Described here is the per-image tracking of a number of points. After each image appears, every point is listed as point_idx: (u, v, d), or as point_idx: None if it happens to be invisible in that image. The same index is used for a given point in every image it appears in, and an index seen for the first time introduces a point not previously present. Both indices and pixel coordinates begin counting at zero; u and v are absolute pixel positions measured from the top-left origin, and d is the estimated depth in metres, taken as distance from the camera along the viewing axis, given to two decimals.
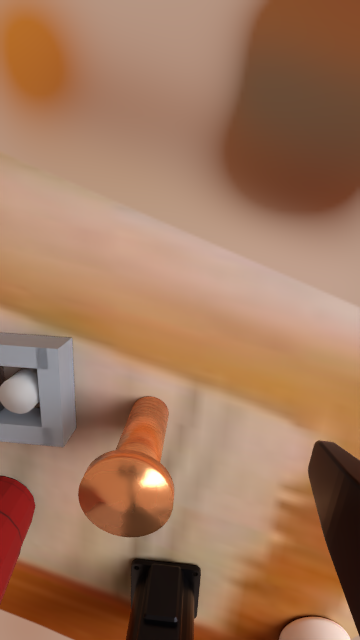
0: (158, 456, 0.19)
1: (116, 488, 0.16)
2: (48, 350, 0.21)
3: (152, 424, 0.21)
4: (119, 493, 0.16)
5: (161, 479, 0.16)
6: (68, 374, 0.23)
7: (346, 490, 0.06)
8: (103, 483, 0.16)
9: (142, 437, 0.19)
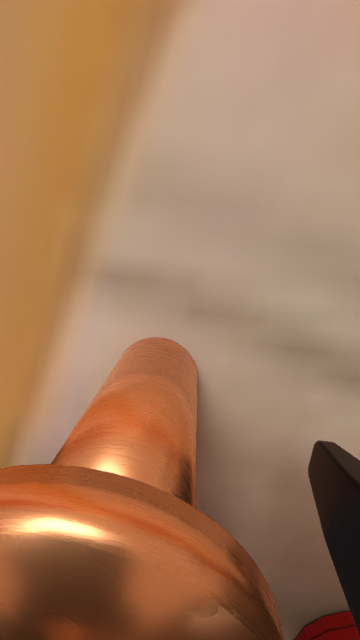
0: (96, 432, 0.06)
1: None
2: None
3: (92, 401, 0.08)
4: None
5: None
6: None
7: (346, 490, 0.06)
8: None
9: None
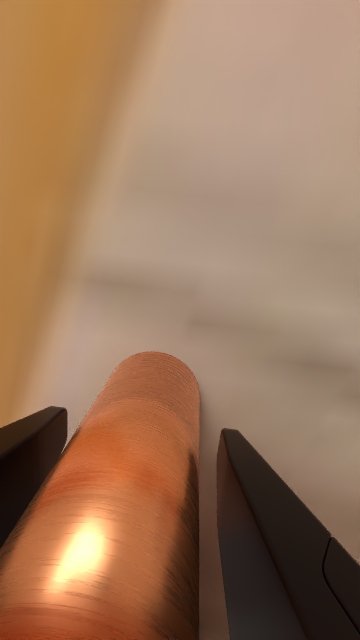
0: (69, 493, 0.04)
1: None
2: None
3: (73, 435, 0.07)
4: None
5: None
6: None
7: (228, 474, 0.06)
8: None
9: None
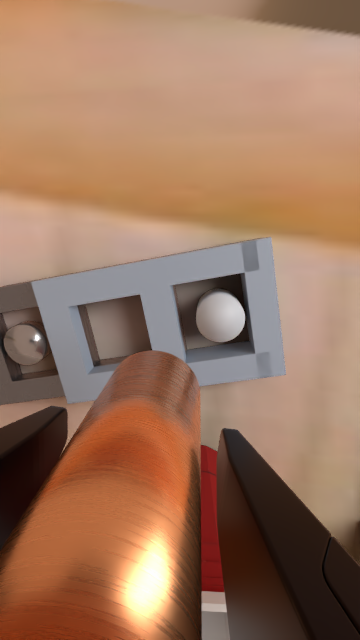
0: (71, 491, 0.04)
1: None
2: (259, 241, 0.16)
3: None
4: None
5: None
6: None
7: (228, 474, 0.06)
8: None
9: None
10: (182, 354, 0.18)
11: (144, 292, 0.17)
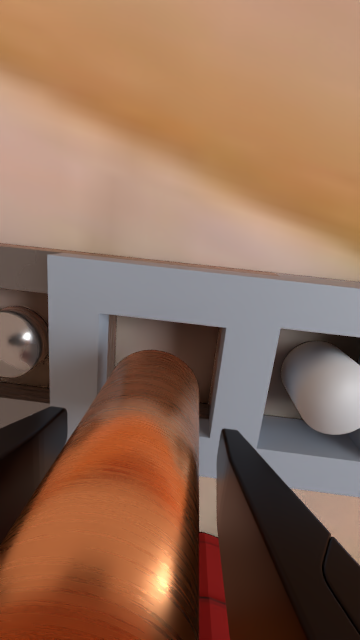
0: (68, 491, 0.04)
1: None
2: None
3: None
4: None
5: None
6: None
7: (228, 474, 0.06)
8: None
9: None
10: (257, 434, 0.11)
11: (235, 327, 0.10)
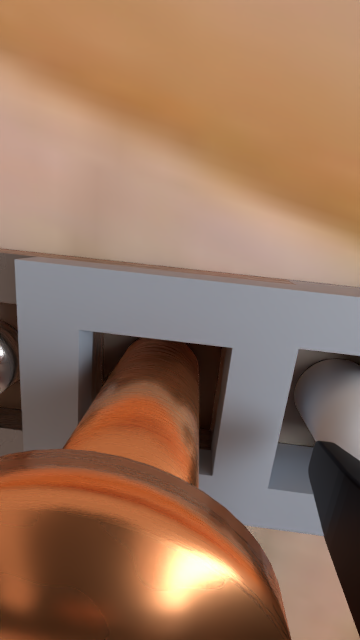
0: (102, 424, 0.06)
1: None
2: None
3: None
4: None
5: None
6: None
7: (346, 490, 0.06)
8: None
9: None
10: (268, 472, 0.10)
11: (243, 347, 0.08)
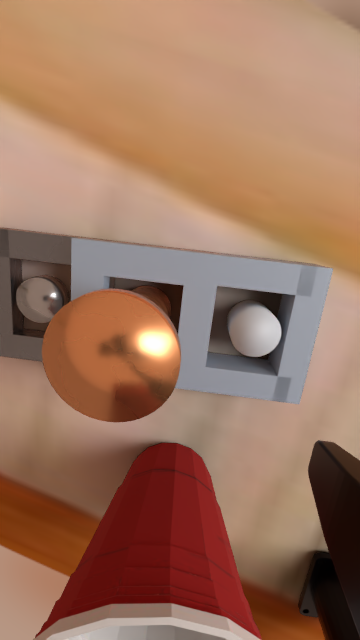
0: None
1: (90, 370, 0.11)
2: (320, 269, 0.16)
3: None
4: (98, 367, 0.11)
5: (70, 306, 0.11)
6: None
7: (346, 490, 0.06)
8: (83, 386, 0.12)
9: None
10: (205, 357, 0.17)
11: (188, 284, 0.16)
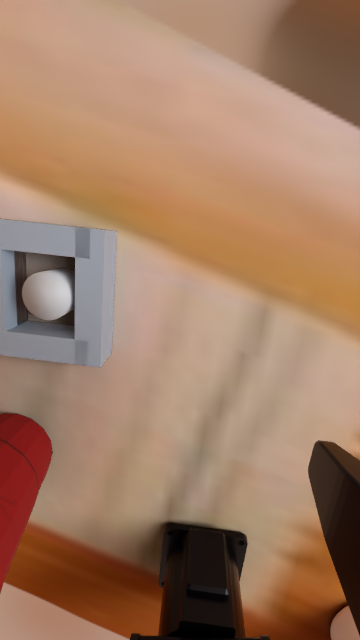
0: None
1: None
2: (93, 231, 0.16)
3: None
4: None
5: None
6: (110, 275, 0.18)
7: (346, 490, 0.06)
8: None
9: None
10: (4, 321, 0.18)
11: None
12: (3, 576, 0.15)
